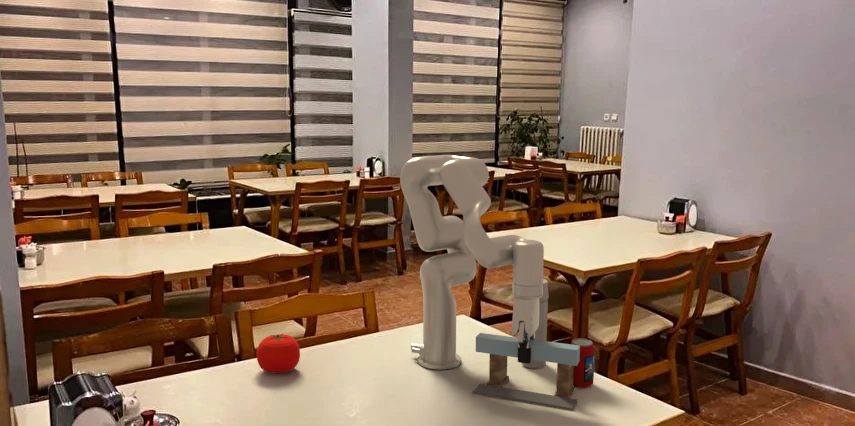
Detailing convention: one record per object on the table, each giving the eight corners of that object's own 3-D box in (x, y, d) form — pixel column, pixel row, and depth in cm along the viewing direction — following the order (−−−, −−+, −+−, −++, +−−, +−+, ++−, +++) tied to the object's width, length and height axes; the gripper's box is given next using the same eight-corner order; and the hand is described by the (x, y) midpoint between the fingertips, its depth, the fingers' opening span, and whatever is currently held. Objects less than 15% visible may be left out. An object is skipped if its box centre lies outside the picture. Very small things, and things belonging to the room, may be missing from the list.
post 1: (486, 386, 183) (487, 346, 181) (494, 376, 190) (495, 338, 188) (501, 388, 182) (502, 348, 180) (508, 378, 188) (509, 340, 187)
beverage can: (593, 390, 181) (595, 347, 179) (567, 388, 182) (569, 345, 180) (592, 380, 187) (594, 338, 185) (567, 378, 189) (569, 336, 187)
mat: (472, 393, 179) (472, 391, 179) (479, 385, 184) (479, 383, 184) (573, 410, 169) (573, 408, 169) (577, 401, 174) (577, 399, 174)
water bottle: (552, 366, 197) (555, 281, 193) (532, 372, 193) (534, 285, 189) (530, 356, 205) (532, 274, 201) (510, 361, 200) (512, 278, 196)
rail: (475, 351, 178) (475, 336, 177) (479, 347, 181) (480, 332, 180) (576, 365, 168) (577, 350, 167) (579, 361, 171) (579, 345, 171)
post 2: (554, 397, 176) (555, 356, 175) (559, 387, 183) (561, 347, 181) (569, 400, 175) (571, 359, 173) (574, 389, 181) (576, 349, 180)
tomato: (297, 361, 200) (296, 326, 199) (303, 376, 189) (302, 339, 188) (255, 365, 197) (254, 330, 195) (258, 381, 186) (257, 344, 184)
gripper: (521, 280, 181) (520, 347, 184) (503, 296, 166) (502, 369, 169) (549, 283, 178) (548, 351, 181) (534, 299, 163) (532, 373, 166)
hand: (526, 359), depth 175 cm, fingers closed on rail, 3 cm apart
